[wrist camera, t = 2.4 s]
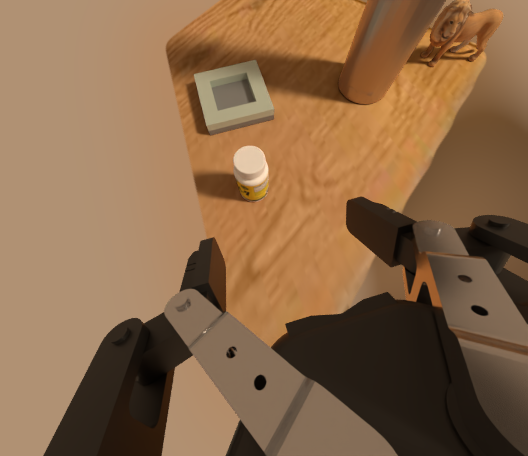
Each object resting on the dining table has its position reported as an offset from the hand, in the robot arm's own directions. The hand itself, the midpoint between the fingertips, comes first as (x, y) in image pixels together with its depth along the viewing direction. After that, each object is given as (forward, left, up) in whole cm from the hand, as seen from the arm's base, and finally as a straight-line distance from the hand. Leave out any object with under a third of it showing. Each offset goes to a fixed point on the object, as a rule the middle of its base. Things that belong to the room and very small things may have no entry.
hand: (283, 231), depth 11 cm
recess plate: (-24, -19, -18) cm, 35 cm away
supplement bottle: (-9, -8, -18) cm, 21 cm away
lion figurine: (-49, +15, -18) cm, 55 cm away
